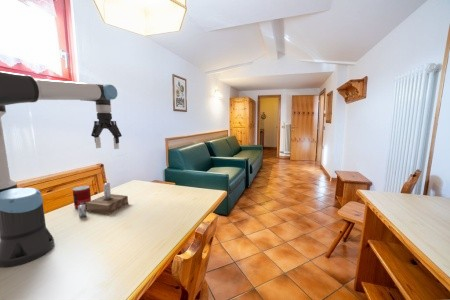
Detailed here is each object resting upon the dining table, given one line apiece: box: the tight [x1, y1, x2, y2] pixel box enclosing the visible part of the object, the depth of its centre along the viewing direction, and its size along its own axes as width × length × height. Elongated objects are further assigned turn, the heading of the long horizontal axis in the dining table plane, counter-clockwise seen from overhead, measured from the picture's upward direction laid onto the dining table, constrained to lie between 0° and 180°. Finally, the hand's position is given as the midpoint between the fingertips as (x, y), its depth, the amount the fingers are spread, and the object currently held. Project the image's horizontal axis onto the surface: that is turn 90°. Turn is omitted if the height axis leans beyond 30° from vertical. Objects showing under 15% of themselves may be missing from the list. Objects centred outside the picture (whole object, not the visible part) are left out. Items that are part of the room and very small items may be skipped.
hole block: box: [86, 193, 129, 216], centre depth 110 cm, size 14×14×5 cm
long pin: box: [103, 182, 112, 201], centre depth 109 cm, size 3×3×14 cm
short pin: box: [77, 204, 87, 219], centre depth 99 cm, size 3×3×6 cm
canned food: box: [72, 185, 92, 210], centre depth 112 cm, size 8×8×11 cm
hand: (107, 148), depth 118 cm, fingers open, 13 cm apart
